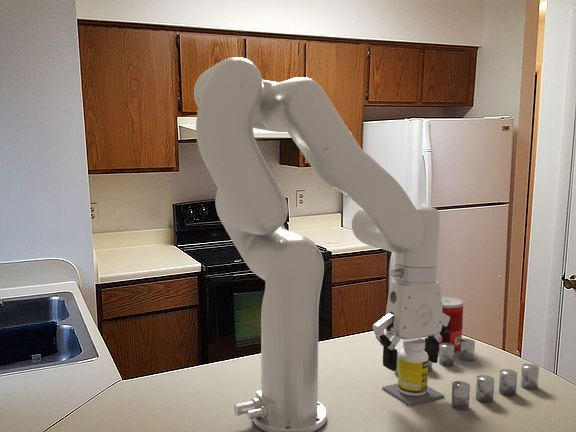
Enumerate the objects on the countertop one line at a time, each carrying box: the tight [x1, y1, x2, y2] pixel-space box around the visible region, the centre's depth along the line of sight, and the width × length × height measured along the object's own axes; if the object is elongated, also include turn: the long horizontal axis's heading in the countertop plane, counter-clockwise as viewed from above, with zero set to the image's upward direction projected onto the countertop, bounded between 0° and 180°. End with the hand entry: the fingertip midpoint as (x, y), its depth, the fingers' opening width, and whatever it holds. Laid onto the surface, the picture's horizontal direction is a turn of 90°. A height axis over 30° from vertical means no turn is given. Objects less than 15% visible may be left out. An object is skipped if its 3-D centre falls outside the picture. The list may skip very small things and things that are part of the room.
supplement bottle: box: [397, 338, 429, 396], centre depth 100 cm, size 5×5×10 cm
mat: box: [381, 382, 445, 407], centre depth 101 cm, size 8×8×1 cm
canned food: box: [438, 295, 464, 353], centre depth 125 cm, size 8×8×11 cm
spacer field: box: [394, 338, 540, 411], centre depth 106 cm, size 21×19×4 cm
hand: (410, 364), depth 100 cm, fingers open, 9 cm apart
